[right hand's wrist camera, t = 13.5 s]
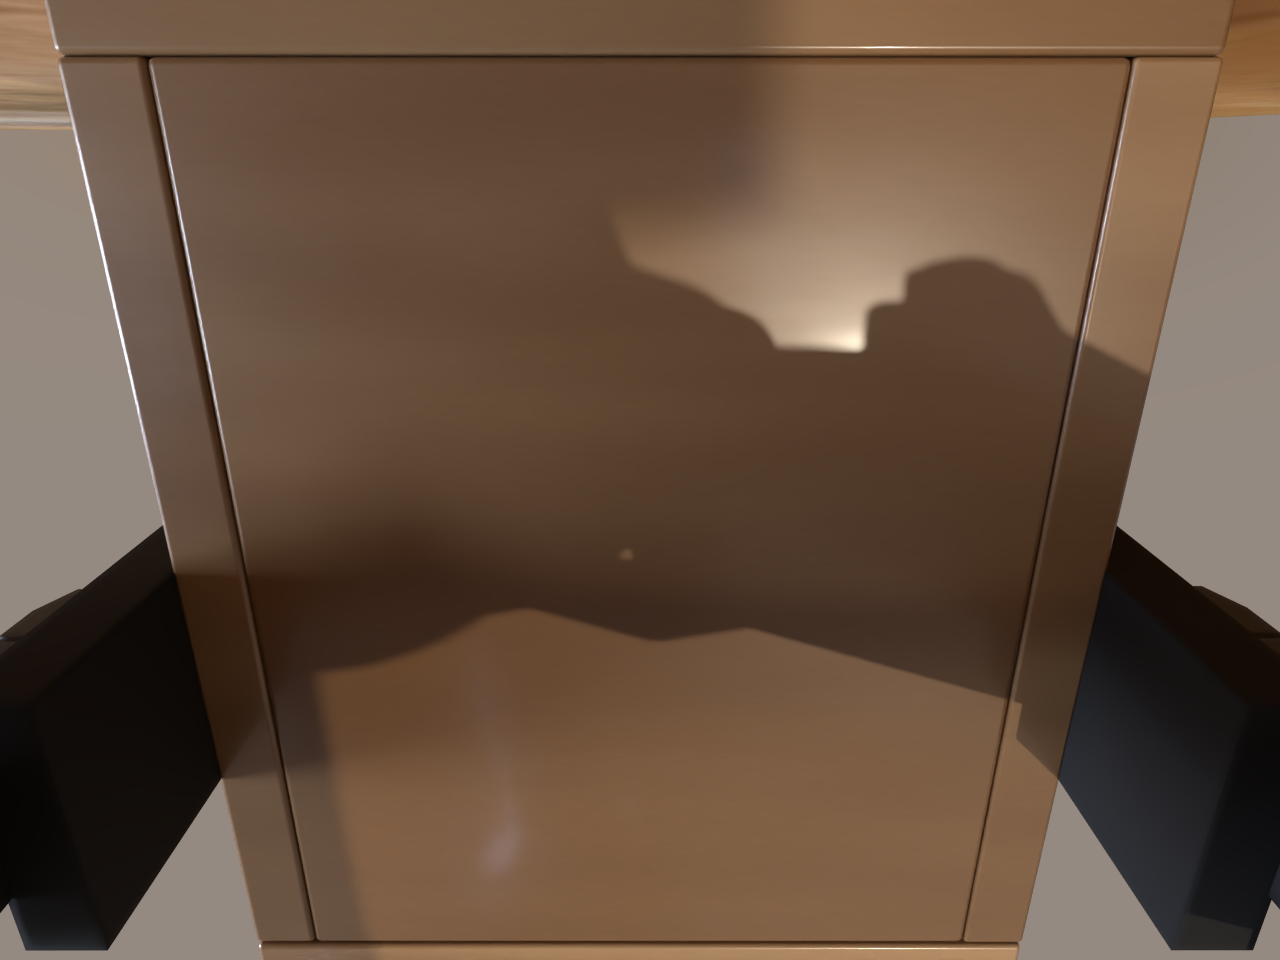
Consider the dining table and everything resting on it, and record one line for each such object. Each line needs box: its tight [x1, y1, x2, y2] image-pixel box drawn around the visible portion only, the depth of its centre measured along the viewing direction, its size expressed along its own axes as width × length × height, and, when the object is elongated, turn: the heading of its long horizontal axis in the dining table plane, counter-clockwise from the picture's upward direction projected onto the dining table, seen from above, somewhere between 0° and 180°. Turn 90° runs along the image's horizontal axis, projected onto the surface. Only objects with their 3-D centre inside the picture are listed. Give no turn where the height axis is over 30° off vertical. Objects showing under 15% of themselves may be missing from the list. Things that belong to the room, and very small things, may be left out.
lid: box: [259, 937, 1019, 960], centre depth 20 cm, size 17×10×8 cm, turn 0°
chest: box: [44, 0, 1236, 942], centre depth 16 cm, size 16×10×11 cm, turn 0°
